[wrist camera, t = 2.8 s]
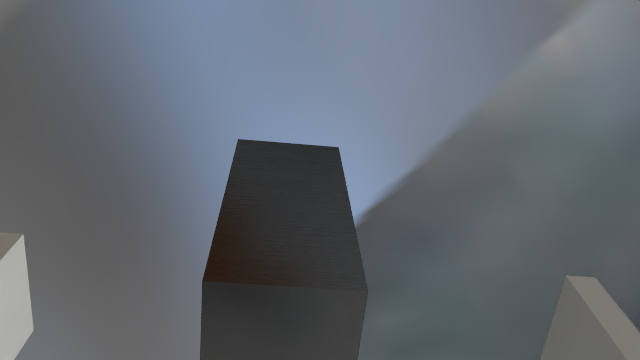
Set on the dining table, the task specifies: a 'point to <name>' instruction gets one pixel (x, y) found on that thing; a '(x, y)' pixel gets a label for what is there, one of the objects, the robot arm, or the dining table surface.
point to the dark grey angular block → (283, 259)
